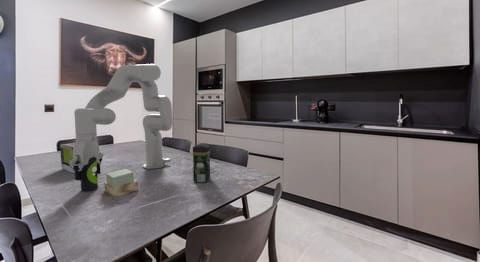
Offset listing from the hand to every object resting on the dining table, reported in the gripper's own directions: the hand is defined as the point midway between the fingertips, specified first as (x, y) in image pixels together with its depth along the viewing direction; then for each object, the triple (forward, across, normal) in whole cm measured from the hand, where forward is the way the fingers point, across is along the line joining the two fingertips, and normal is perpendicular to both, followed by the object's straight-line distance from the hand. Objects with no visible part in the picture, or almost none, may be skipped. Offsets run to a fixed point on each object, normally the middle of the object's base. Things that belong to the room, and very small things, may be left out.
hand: (88, 176), depth 101 cm
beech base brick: (+6, -1, +15) cm, 16 cm away
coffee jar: (+6, -22, +44) cm, 49 cm away
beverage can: (+6, 0, 0) cm, 6 cm away
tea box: (+6, -28, -32) cm, 43 cm away
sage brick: (+2, -1, +15) cm, 15 cm away
